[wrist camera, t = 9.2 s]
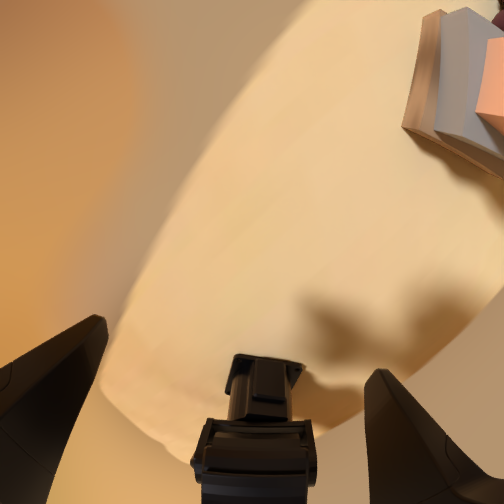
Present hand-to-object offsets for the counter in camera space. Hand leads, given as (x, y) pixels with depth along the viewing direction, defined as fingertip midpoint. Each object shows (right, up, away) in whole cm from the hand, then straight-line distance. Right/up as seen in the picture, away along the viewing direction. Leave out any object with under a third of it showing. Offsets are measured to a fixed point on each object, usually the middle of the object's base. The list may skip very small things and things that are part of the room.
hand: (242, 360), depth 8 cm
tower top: (+15, +13, +3) cm, 21 cm away
